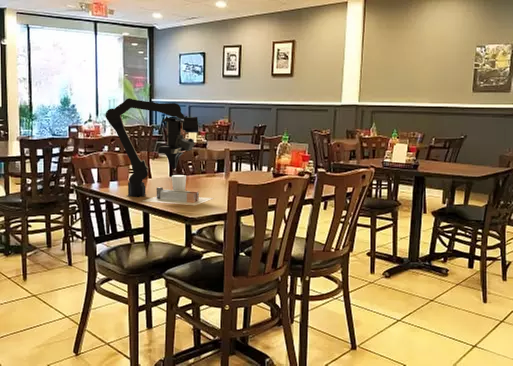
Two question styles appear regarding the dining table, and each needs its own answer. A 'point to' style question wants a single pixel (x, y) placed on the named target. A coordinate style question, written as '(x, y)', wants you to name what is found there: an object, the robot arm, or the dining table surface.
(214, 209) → the dining table surface
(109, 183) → the dining table surface
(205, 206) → the dining table surface
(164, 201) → the cutting board
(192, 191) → the tong leg
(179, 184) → the white cup
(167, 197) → the tong fixed leg
